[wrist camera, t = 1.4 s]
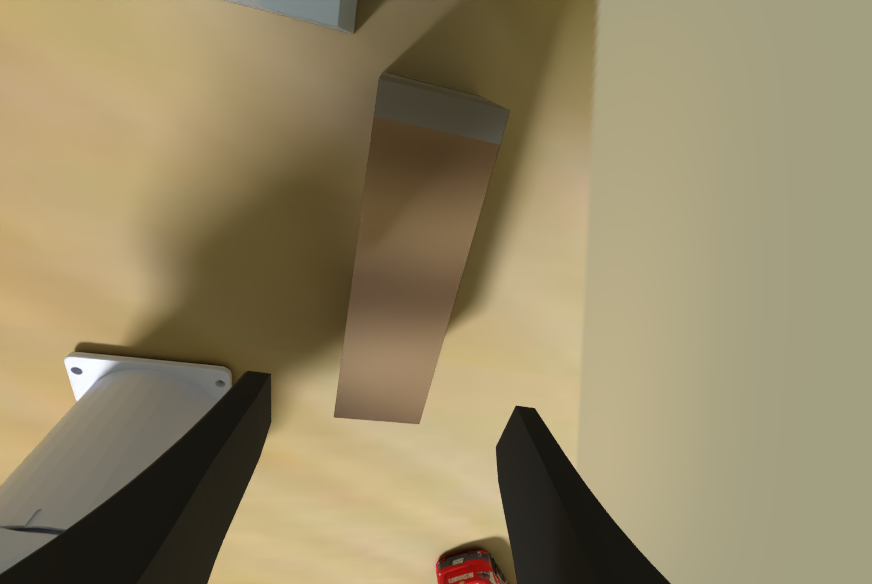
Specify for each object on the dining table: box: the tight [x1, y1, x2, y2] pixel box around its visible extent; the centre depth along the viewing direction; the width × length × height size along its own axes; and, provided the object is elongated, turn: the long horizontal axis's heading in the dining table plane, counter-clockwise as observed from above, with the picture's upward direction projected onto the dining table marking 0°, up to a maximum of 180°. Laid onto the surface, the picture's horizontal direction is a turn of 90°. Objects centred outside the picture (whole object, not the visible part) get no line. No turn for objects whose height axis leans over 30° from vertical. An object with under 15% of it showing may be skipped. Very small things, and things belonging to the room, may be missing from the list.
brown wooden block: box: [334, 72, 509, 424], centre depth 17 cm, size 14×4×5 cm, turn 167°
